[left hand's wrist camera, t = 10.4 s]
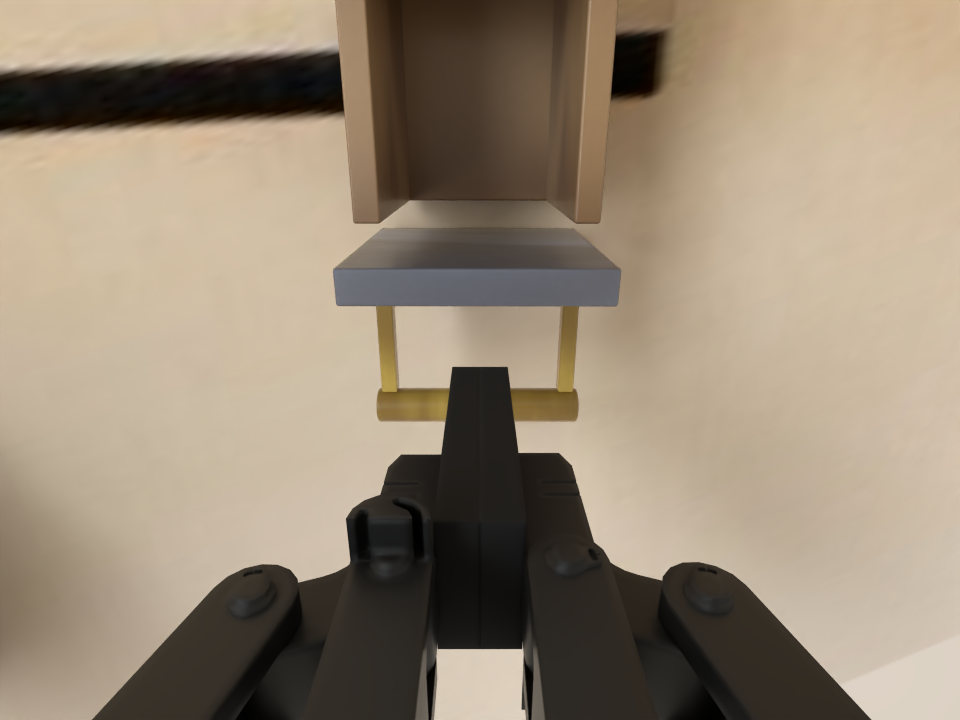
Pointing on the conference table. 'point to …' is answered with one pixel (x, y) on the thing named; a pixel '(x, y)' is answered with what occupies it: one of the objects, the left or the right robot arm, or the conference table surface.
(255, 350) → the conference table surface
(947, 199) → the conference table surface
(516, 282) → the drawer
